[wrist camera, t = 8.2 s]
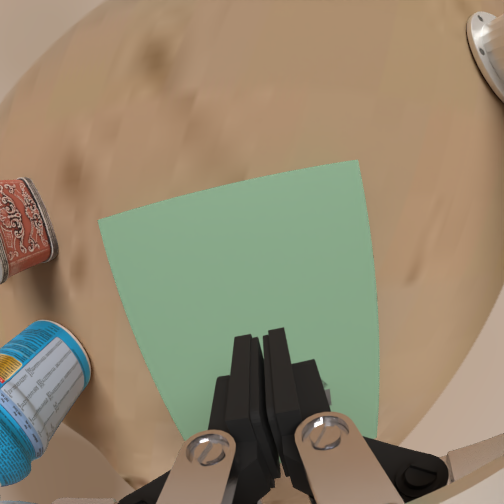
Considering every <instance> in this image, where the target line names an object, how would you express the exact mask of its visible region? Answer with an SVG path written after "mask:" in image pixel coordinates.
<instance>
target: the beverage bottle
mask: <svg viewBox="0 0 504 504" xmlns="http://www.w3.org/2000/svg"><path fill="white" fill-rule="evenodd" d="M90 377H91V366H90V362H89V358H88V356H87V353H86V351H85V350H84V348H83V346H82V345H81V343H80V342H79V341H78V339H77V338H76V337H75V336H74V335H73V334H72V333H71V332H70V331H69V330H68V329H66V328H65V327H63V326H62V325H60V324H58V323H56V322H54V321H50V320H38V321H36V322H34V323H32V324H31V325H30V326H28V327H27V328H26V329H25V330H24V331H22V332H21V333H20V334H19V335H17V336H16V337H15V338H13V339H12V340H11V341H9V342H8V343H7V344H5V345H4V346H3V347H2V348H0V487H3V486H8V485H12V484H14V483H17V482H19V481H21V480H23V479H24V478H25V477H27V476H28V474H29V473H30V471H31V461H33V460H36V459H38V458H40V457H41V456H42V455H43V454H44V452H45V451H46V449H47V447H48V442H49V441H50V439H51V437H52V436H53V434H54V433H55V431H56V430H57V428H58V427H59V425H60V423H61V422H62V420H63V419H64V417H65V416H66V414H67V413H68V411H69V410H70V408H71V407H72V405H73V404H74V402H75V401H76V399H77V398H78V397H79V395H80V394H81V392H82V391H83V390H84V389H85V387H86V386H87V385H88V383H89V381H90Z"/></svg>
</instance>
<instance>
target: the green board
mask: <svg viewBox="0 0 504 504" xmlns="http://www.w3.org/2000/svg"><path fill="white" fill-rule="evenodd" d="M98 224H99V228H100V232H101V235H102V239H103V243H104V246H105V250H106V253H107V257H108V260H109V264H110V267H111V270H112V273H113V277H114V280H115V283H116V286H117V289H118V292H119V295H120V298H121V301H122V303H123V306H124V309H125V312H126V315H127V317H128V320H129V323H130V325H131V328H132V330H133V333H134V335H135V338H136V340H137V343H138V345H139V348H140V350H141V353H142V355H143V357H144V360H145V362H146V364H147V367H148V369H149V371H150V373H151V375H152V378H153V380H154V382H155V384H156V386H157V388H158V390H159V393H160V395H161V397H162V399H163V401H164V403H165V405H166V407H167V409H168V411H169V413H170V415H171V417H172V418H173V420H174V422H175V424H176V426H177V428H178V430H179V431H180V433H181V435H182V437H183V439H184V440H185V441H186V440H187V439H188V438H190V437H191V436H193V435H194V434H196V433H198V432H202V431H205V430H208V425H209V420H210V414H211V408H212V402H213V396H214V390H215V385H216V380H217V377H219V376H226V375H230V371H231V363H232V354H233V345H234V338H235V337H236V336H241V335H247V334H251V335H252V338H253V337H258V338H259V342H260V346H261V350H262V354H263V358H264V353H263V336H264V335H268V330H272V329H277V328H282V327H284V329H285V334H286V339H287V344H288V349H289V354H290V359H291V364H293V363H298V362H303V361H307V360H311V359H315V362H316V365H317V368H318V371H319V374H320V377H321V380H322V384H323V387H324V390H325V393H326V397H327V400H328V403H329V406H330V410H331V412H338V413H342V414H344V415H346V416H348V417H349V418H350V419H351V420H352V421H353V422H354V424H355V425H356V427H357V428H358V430H359V432H360V433H361V435H362V436H365V437H368V438H371V439H374V438H377V426H378V408H379V325H378V306H377V292H376V279H375V269H374V259H373V250H372V242H371V234H370V227H369V220H368V213H367V207H366V201H365V195H364V189H363V184H362V178H361V173H360V168H359V163H358V160H352V161H345V162H339V163H333V164H327V165H321V166H315V167H310V168H304V169H299V170H294V171H288V172H283V173H278V174H273V175H268V176H264V177H259V178H254V179H249V180H245V181H240V182H236V183H232V184H227V185H223V186H219V187H215V188H210V189H206V190H202V191H198V192H194V193H190V194H187V195H183V196H179V197H175V198H171V199H168V200H164V201H160V202H157V203H153V204H150V205H146V206H143V207H139V208H136V209H132V210H129V211H126V212H122V213H119V214H116V215H112V216H109V217H106V218H103V219H100V220H98ZM279 461H280V463H281V460H280V457H279Z"/></svg>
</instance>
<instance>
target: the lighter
mask: <svg viewBox="0 0 504 504" xmlns="http://www.w3.org/2000/svg"><path fill="white" fill-rule="evenodd" d="M57 253H58V242H57V239H56V236H55V232H54V229H53V225H52V223H51V220H50V217H49V214H48V212H47V209H46V207H45V205H44V203H43V200H42V198H41V196H40V194H39V192H38V190H37V189H36V187H35V185H34V183H33V182H32V180H31V179H30V178H27V177H24V178H18V179H16V180H1V181H0V284H2V283H4V282H5V281H6V280H7V278H8V277H11V276H13V275H15V274H17V273H19V272H21V271H23V270H26V269H28V268H30V267H32V266H34V265H37V264H39V263H46V262H48V261H50V260H53V259H54V258H55V257H56V255H57Z"/></svg>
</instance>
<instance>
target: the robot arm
mask: <svg viewBox="0 0 504 504" xmlns="http://www.w3.org/2000/svg"><path fill="white" fill-rule="evenodd" d="M467 37H468V40H469V44H470V48H471V50H472V53H473V56H474V58H475V60H476V62H477V65H478V67H479V69H480V70H481V72H482V74H483V76H484V78H485V79H486V81H487V82H488V84H489V85H490V87H491V88H492V90H493V91H494V92H495V94H496V95H497V96H498V97H499V98H500V99H501V100H502V102H503V103H504V14H503V15H501V16H499V17H495V16H493V15H492V14H490V13H487V12H477V13H475V14H473V15H472V16H471V17H469V19H468V22H467ZM263 353H264V358H263V354H262V350H261V346H260V342H259V338H258V337H253V338H252V335H251V334H247V335H241V336H236V337H235V338H234V345H233V354H232V363H231V371H230V375H226V376H219V377H217V380H216V385H215V390H214V396H213V402H212V408H211V414H210V420H209V425H208V430H205V431H202V432H198V433H196V434H194V435H193V436H191V437H190V438H188V439H187V440H186V441H185V442H184V444H183V445H182V447H181V449H180V451H179V453H178V456H177V458H176V460H175V462H174V465H173V467H172V469H171V470H169V471H168V472H166V473H165V474H163V475H162V476H160V477H158V478H157V479H155V480H153V481H152V482H150V483H148V484H147V485H145V486H143V487H141V488H140V489H138V490H136V491H134V492H133V493H131V494H129V495H127V496H126V497H124V498H123V499H121V500H120V501H118V502H117V501H116V500H115V499H79V498H59V499H57V500H55V501H54V502H53V503H52V504H262V497H264V496H265V495H266V494H267V493H268V492H269V491H270V488H275V481H274V479H275V478H280V477H281V473H280V461H279V457H280V460H281V463H282V466H283V469H284V472H285V475H286V477H288V476H290V478H291V481H292V485H293V487H294V488H296V489H298V490H300V491H302V492H303V493H305V494H307V495H308V498H309V501H310V504H504V433H503V434H500V435H498V436H495V437H492V438H490V439H487V440H484V441H482V442H479V443H476V444H473V445H469V446H466V447H463V448H460V449H456V450H453V451H449V452H448V454H447V455H446V456H443V457H436V456H434V455H431V454H426V453H422V452H418V451H414V450H410V449H406V448H402V447H398V446H395V445H391V444H388V443H384V442H381V441H377V440H374V439H371V438H368V437H365V436H362V435H361V433H360V432H359V430H358V428H357V427H356V425H355V424H354V422H353V421H352V420H351V419H350V418H349V417H348V416H346V415H344V414H342V413H338V412H331V410H330V406H329V403H328V400H327V397H326V393H325V390H324V387H323V384H322V380H321V377H320V374H319V371H318V368H317V365H316V362H315V359H311V360H307V361H303V362H298V363H293V364H291V359H290V354H289V349H288V344H287V339H286V334H285V329H284V327H282V328H277V329H272V330H268V335H264V336H263ZM0 504H36V503H30V502H23V501H0Z"/></svg>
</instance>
